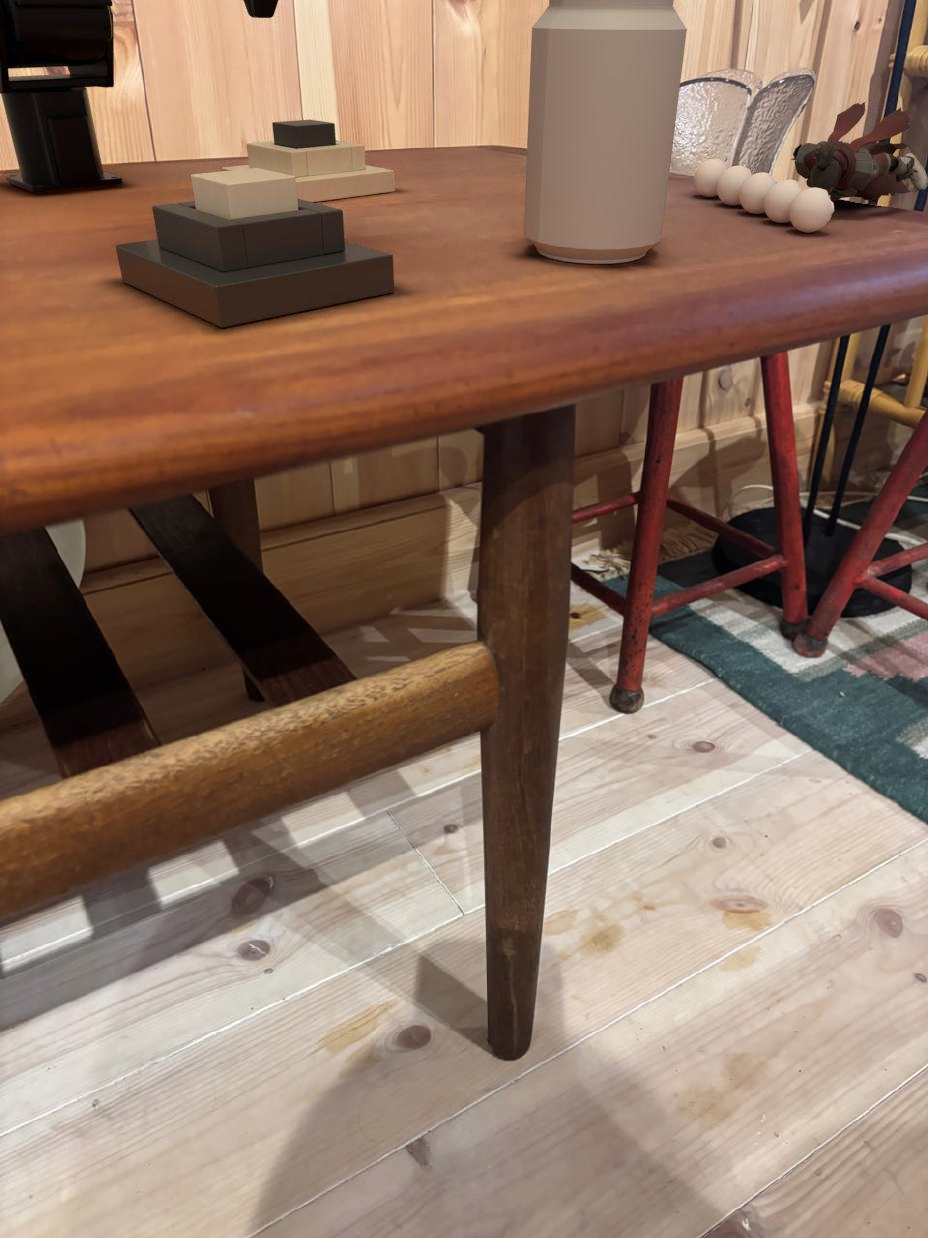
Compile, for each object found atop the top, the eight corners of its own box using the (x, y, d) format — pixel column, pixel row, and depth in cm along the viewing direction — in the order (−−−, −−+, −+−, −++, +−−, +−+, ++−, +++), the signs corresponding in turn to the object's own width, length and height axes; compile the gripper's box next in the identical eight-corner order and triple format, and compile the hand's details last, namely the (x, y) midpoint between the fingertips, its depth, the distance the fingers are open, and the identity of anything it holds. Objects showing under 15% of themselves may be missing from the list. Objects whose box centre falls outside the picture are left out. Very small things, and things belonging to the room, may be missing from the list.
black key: (274, 149, 65) (271, 122, 64) (312, 146, 66) (310, 119, 65) (298, 154, 63) (295, 125, 62) (336, 150, 64) (334, 122, 63)
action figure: (821, 189, 70) (746, 204, 57) (840, 100, 67) (766, 94, 54) (931, 198, 67) (878, 216, 54) (956, 104, 64) (907, 99, 50)
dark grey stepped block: (122, 281, 44) (106, 203, 42) (282, 255, 48) (275, 183, 46) (221, 328, 37) (208, 238, 35) (395, 292, 42) (392, 211, 40)
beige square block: (196, 216, 41) (190, 174, 40) (261, 207, 43) (257, 167, 42) (232, 227, 39) (227, 183, 38) (299, 218, 41) (295, 175, 40)
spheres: (723, 156, 64) (715, 194, 65) (691, 155, 64) (684, 193, 65) (847, 191, 52) (835, 236, 53) (810, 189, 52) (798, 235, 53)
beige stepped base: (223, 188, 66) (217, 142, 65) (326, 176, 71) (323, 133, 69) (288, 205, 61) (283, 155, 59) (395, 191, 65) (393, 145, 64)
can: (689, 256, 49) (726, -15, 42) (583, 274, 45) (606, -19, 38) (597, 232, 54) (617, -13, 47) (495, 246, 50) (502, -16, 44)
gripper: (-39, -406, 41) (47, 11, 50) (129, -558, 29) (201, 23, 38) (191, -351, 47) (230, 13, 55) (407, -460, 35) (412, 23, 44)
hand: (261, 17), depth 48 cm, fingers closed
